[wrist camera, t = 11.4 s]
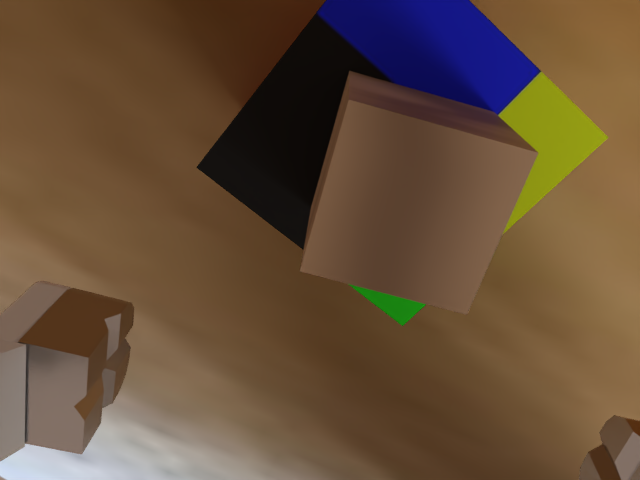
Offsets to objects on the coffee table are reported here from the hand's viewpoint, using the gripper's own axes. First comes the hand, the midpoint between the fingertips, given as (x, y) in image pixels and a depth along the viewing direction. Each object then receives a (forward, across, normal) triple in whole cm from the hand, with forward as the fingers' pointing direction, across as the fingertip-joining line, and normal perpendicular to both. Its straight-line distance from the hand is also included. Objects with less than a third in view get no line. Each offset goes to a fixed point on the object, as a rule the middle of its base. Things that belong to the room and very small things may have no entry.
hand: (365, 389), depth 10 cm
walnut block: (+12, -1, -1) cm, 12 cm away
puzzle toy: (+22, -1, -1) cm, 22 cm away
